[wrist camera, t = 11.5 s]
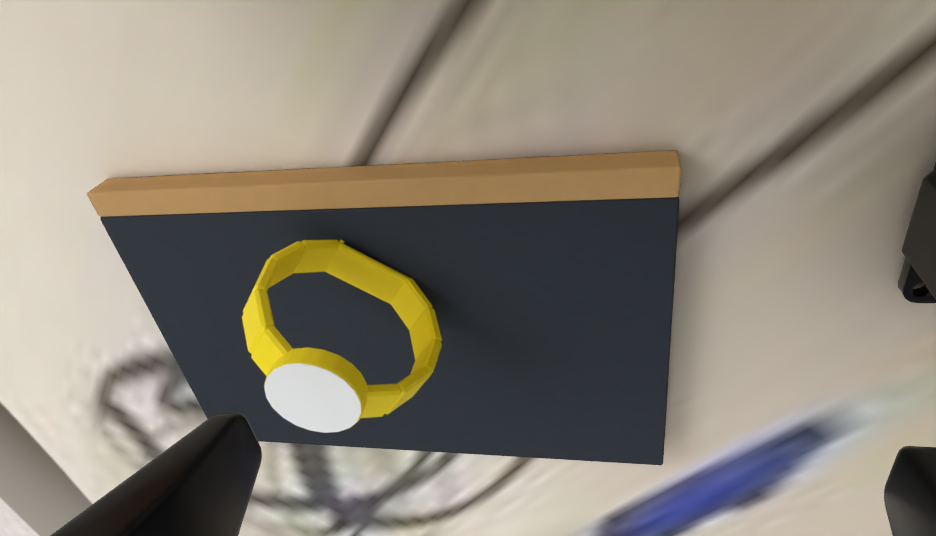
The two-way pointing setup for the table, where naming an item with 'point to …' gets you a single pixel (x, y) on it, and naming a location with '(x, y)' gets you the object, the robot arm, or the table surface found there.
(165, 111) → the table surface
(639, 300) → the dark rectangular board
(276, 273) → the watch
